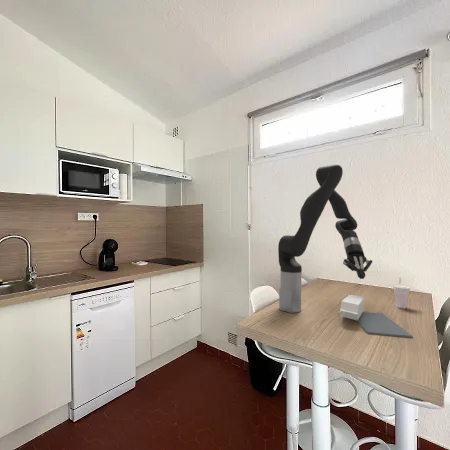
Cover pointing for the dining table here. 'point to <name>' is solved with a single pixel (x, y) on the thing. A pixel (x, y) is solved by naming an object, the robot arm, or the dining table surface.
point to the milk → (352, 307)
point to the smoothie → (401, 295)
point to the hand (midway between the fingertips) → (362, 277)
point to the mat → (381, 325)
